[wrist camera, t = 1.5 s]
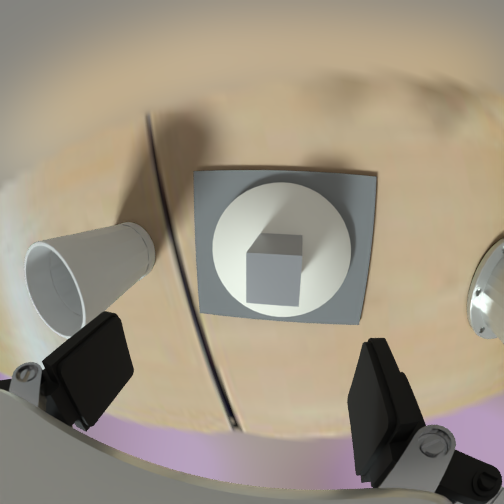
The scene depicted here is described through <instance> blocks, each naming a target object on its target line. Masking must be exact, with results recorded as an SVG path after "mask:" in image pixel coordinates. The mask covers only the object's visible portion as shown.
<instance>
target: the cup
mask: <svg viewBox="0 0 504 504" xmlns="http://www.w3.org/2000/svg"><path fill="white" fill-rule="evenodd" d="M154 262H155V248H154V245H153V242H152V240H151V238H150V236H149V234H148V233H147V232H146V231H145V230H144V229H143V228H142V227H141V226H139V225H138V224H135V223H132V222H124V223H121V224H118V225H115V226H110V227H105V228H100V229H95V230H91V231H86V232H81V233H77V234H72V235H66V236H61V237H57V238H52V239H47V240H43V241H38V242H35V243H33V244H32V245H31V246H30V247H29V249H28V251H27V253H26V256H25V262H24V275H25V282H26V286H27V290H28V293H29V296H30V298H31V301H32V303H33V305H34V307H35V309H36V311H37V312H38V314H39V315H40V317H41V318H42V320H43V321H44V322H45V323H46V324H47V326H48V327H49V328H50V329H51V330H53V331H54V332H55V333H57V334H58V335H60V336H62V337H64V338H67V339H69V338H70V337H72V336H73V335H74V334H75V333H76V332H78V331H79V330H80V329H81V328H83V327H84V326H85V325H86V324H88V323H89V322H90V321H92V320H93V319H94V318H95V317H97V316H98V315H99V314H100V313H102V312H104V311H105V310H106V309H107V308H108V307H109V306H110V305H112V304H113V303H114V302H115V301H116V300H117V299H118V298H119V297H120V296H122V295H123V294H124V293H125V292H126V291H127V290H128V289H129V288H131V287H132V286H133V285H134V284H135V283H136V282H137V281H139V280H140V279H142V278H143V277H145V276H146V275H148V274H149V273H150V271H151V270H152V268H153V266H154Z"/></svg>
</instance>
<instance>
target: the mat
mask: <svg viewBox="0 0 504 504" xmlns="http://www.w3.org/2000/svg"><path fill="white" fill-rule="evenodd" d="M278 182H285V183H294V184H298V185H302V186H305V187H307V188H310V189H312V190H314V191H315V192H317V193H319V194H320V195H322V196H323V197H324V198H326V199H327V200H328V201H329V202H330V203H331V204H332V205H333V206H334V207H335V209H336V210H337V211H338V212H339V214H340V215H341V217H342V219H343V221H344V222H345V225H346V227H347V230H348V233H349V237H350V244H351V259H350V265H349V269H348V272H347V275H346V277H345V279H344V281H343V283H342V285H341V286H340V288H339V289H338V291H337V292H336V293H335V294H334V295H333V297H332V298H330V299H329V300H328V301H327V302H326V303H324V304H323V305H322V306H320V307H319V308H317V309H315V310H313V311H311V312H308V313H305V314H302V315H297V316H291V317H275V316H269V315H265V314H261V313H258V312H256V311H253V310H251V309H250V308H248V307H246V306H244V305H243V304H241V303H240V302H239V301H238V300H236V299H235V298H234V297H233V296H232V295H231V294H230V293H229V292H228V290H227V289H226V288H225V286H224V285H223V283H222V282H221V280H220V278H219V276H218V273H217V271H216V268H215V264H214V260H213V251H212V250H213V237H214V232H215V229H216V226H217V224H218V221H219V219H220V217H221V216H222V214H223V212H224V211H225V209H226V208H227V207H228V206H229V205H230V204H231V203H232V202H233V201H234V200H235V199H236V198H237V197H238V196H240V195H241V194H243V193H244V192H246V191H248V190H250V189H252V188H254V187H257V186H261V185H264V184H269V183H278ZM375 196H376V177H374V176H364V175H353V174H340V173H326V172H308V171H280V170H217V171H194V218H195V244H196V263H197V280H198V294H199V307H200V313H205V314H213V315H222V316H231V317H241V318H251V319H262V320H274V321H287V322H302V323H321V324H346V325H359V321H360V316H361V311H362V306H363V300H364V294H365V288H366V282H367V275H368V268H369V261H370V253H371V244H372V235H373V224H374V212H375Z"/></svg>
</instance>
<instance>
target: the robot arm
mask: <svg viewBox="0 0 504 504" xmlns="http://www.w3.org/2000/svg"><path fill="white" fill-rule="evenodd" d="M467 316H468V321H469V324H470V326H471V328H472V329H473V331H474V332H475V333H476V334H477V335H478V336H480V337H482V338H484V339H494V338H497V337H498V338H499V339H500V340H501V341H502V343H503V344H504V238H503V239H501V240H499V241H498V242H497V243H495V244H494V245H493V246H492V247H491V248H490V250H489V251H488V252H487V253H486V255H485V256H484V258H483V259H482V261H481V262H480V264H479V266H478V268H477V270H476V272H475V275H474V277H473V280H472V283H471V286H470V290H469V294H468V300H467ZM42 363H43V365H44V367H45V369H44V370H42V368H41V366H40V365H39V364H37V363H34V362H28V363H24V364H22V365H20V366H19V367H17V368H16V370H15V371H14V373H13V376H12V379H7V380H0V504H504V488H503V487H502V486H501V484H502V476H501V474H500V472H499V470H498V469H497V468H495V467H494V466H492V465H490V464H487V463H485V462H482V461H480V460H477V459H475V458H473V457H471V456H468V455H465V454H464V453H462V452H459V451H457V450H455V446H456V442H455V438H454V436H453V434H452V433H451V432H450V431H449V430H448V429H447V428H445V427H443V426H439V425H428V426H426V425H425V422H424V419H423V417H422V414H421V411H420V409H419V406H418V404H417V401H416V399H415V396H414V394H413V391H412V389H411V386H410V384H409V382H408V379H407V377H406V375H405V374H404V373H403V372H400V371H399V368H398V366H397V364H396V361H395V359H394V357H393V355H392V352H391V350H390V348H389V346H388V343H387V341H386V339H385V338H370V339H369V340H368V342H364V343H363V345H362V349H361V353H360V356H359V360H358V364H357V367H356V371H355V374H354V378H353V381H352V385H351V388H350V391H349V394H348V402H347V403H348V410H349V418H350V425H351V433H352V441H353V450H354V460H355V471H356V475H361V482H362V483H363V482H371V486H372V487H373V488H364V489H340V490H296V489H279V488H266V487H256V486H249V485H242V484H234V483H229V482H223V481H218V480H213V479H208V478H203V477H200V476H195V475H191V474H187V473H184V472H180V471H176V470H173V469H169V468H166V467H163V466H160V465H156V464H154V463H151V462H148V461H145V460H142V459H139V458H137V457H134V456H132V455H129V454H127V453H124V452H121V451H119V450H117V449H115V448H112V447H110V446H108V445H106V444H103V443H101V442H99V441H97V440H95V439H93V438H90V437H89V436H87V435H85V434H83V433H81V432H79V431H77V430H75V429H73V427H72V425H73V424H74V423H75V425H76V426H77V427H79V428H80V429H83V430H84V431H87V430H88V429H89V428H90V427H91V426H94V425H95V423H96V422H97V421H98V419H99V418H100V417H101V415H102V414H103V413H104V412H105V410H106V409H107V408H108V406H109V405H110V404H111V402H112V401H113V400H114V399H115V397H116V396H117V395H118V393H119V392H120V391H121V390H122V388H123V387H124V386H125V384H126V383H127V382H128V381H129V379H130V378H131V377H132V375H133V372H134V369H133V365H132V361H131V358H130V354H129V350H128V347H127V343H126V339H125V335H124V331H123V327H122V322H121V319H120V318H119V317H118V315H117V314H115V313H111V312H106V311H104V312H102V313H100V314H99V315H98V316H97V317H95V318H94V319H93V320H92V321H90V322H89V323H88V324H86V325H85V326H84V327H83V328H81V329H80V330H79V331H78V332H76V333H75V334H74V335H73V336H72V337H70V338H69V339H68V340H67V341H65V342H64V343H63V344H62V345H61V346H59V347H58V348H57V349H56V350H55V351H53V352H52V353H51V354H50V355H49V356H47V357H46V358H45V359H44V360H43V361H42Z"/></svg>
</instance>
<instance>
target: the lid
mask: <svg viewBox="0 0 504 504" xmlns="http://www.w3.org/2000/svg"><path fill="white" fill-rule="evenodd" d="M212 251H213V260H214V264H215V268H216V271H217V273H218V276H219V278H220V280H221V282H222V283H223V285H224V286H225V288H226V289H227V290H228V292H229V293H230V294H231V295H232V296H233V297H234V298H235V299H236V300H238V301H239V302H240V303H241V304H243V305H244V306H246V307H248V308H250V309H251V310H253V311H256V312H258V313H261V314H265V315H269V316H275V317H291V316H297V315H302V314H305V313H308V312H311V311H313V310H315V309H317V308H319V307H320V306H322V305H323V304H324V303H326V302H327V301H328V300H329V299H330V298H332V297H333V295H334V294H335V293H336V292H337V291H338V289H339V288H340V286H341V285H342V283H343V281H344V279H345V277H346V275H347V272H348V269H349V265H350V259H351V244H350V237H349V233H348V230H347V227H346V225H345V222H344V221H343V219H342V217H341V215H340V214H339V212H338V211H337V210H336V209H335V207H334V206H333V205H332V204H331V203H330V202H329V201H328V200H327V199H326V198H324V197H323V196H322V195H320V194H319V193H317V192H315V191H314V190H312V189H310V188H307V187H305V186H302V185H298V184H294V183H285V182H278V183H269V184H264V185H261V186H257V187H254V188H252V189H250V190H248V191H246V192H244V193H243V194H241V195H240V196H238V197H237V198H236V199H235V200H234V201H233V202H232V203H231V204H230V205H229V206H228V207H227V208H226V209H225V211H224V212H223V214H222V216H221V217H220V219H219V221H218V224H217V226H216V229H215V232H214V237H213V250H212Z"/></svg>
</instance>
